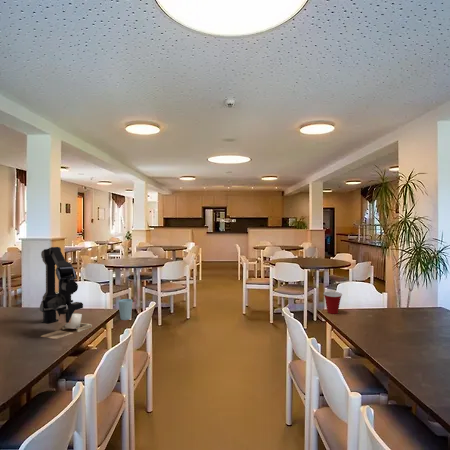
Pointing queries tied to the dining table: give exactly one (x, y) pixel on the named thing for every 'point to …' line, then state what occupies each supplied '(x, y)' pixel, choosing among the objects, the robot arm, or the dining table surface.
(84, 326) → the beige u-shaped bar frame
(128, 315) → the cup
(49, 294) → the robot arm
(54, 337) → the coaster
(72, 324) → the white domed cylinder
